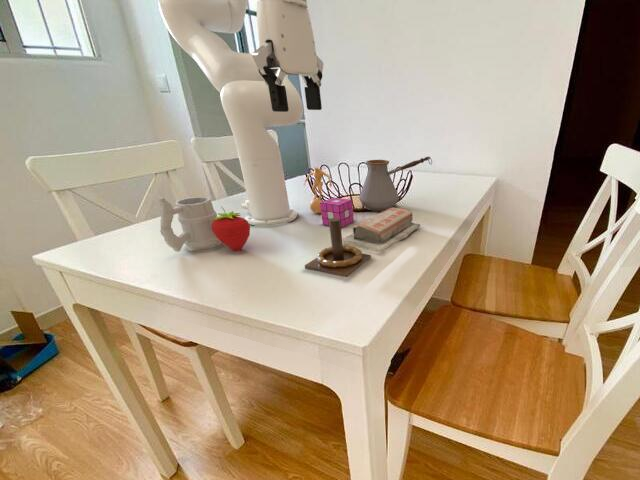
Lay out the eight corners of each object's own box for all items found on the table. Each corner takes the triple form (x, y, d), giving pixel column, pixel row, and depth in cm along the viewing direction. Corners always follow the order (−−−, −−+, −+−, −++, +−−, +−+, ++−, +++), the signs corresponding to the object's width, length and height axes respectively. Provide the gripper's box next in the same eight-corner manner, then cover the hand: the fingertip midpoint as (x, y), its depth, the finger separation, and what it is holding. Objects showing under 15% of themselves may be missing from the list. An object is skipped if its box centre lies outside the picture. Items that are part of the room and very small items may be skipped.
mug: (234, 241, 76) (219, 187, 70) (185, 263, 67) (164, 202, 61) (208, 237, 79) (193, 184, 73) (158, 256, 69) (136, 197, 63)
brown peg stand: (305, 271, 64) (297, 223, 59) (332, 253, 71) (328, 209, 67) (346, 280, 61) (341, 230, 56) (371, 260, 68) (368, 215, 63)
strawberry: (244, 259, 68) (232, 210, 63) (211, 256, 69) (197, 208, 65) (261, 248, 73) (251, 202, 68) (230, 245, 74) (218, 200, 70)
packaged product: (385, 203, 86) (420, 209, 82) (385, 222, 88) (420, 228, 84) (340, 224, 72) (380, 232, 68) (342, 245, 74) (381, 254, 70)
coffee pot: (352, 210, 97) (348, 155, 90) (370, 200, 107) (368, 149, 100) (423, 219, 91) (424, 160, 83) (436, 207, 100) (438, 153, 93)
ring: (308, 264, 64) (307, 258, 63) (333, 247, 70) (333, 242, 70) (347, 271, 61) (346, 265, 60) (369, 254, 68) (369, 248, 67)
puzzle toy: (336, 218, 91) (333, 197, 88) (354, 221, 89) (352, 199, 86) (322, 224, 86) (319, 202, 84) (341, 228, 84) (338, 205, 82)
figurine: (301, 214, 94) (294, 169, 89) (312, 208, 99) (306, 165, 94) (328, 216, 92) (323, 170, 87) (338, 210, 97) (334, 166, 92)
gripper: (298, 8, 65) (310, 109, 73) (222, -17, 51) (248, 112, 59) (332, 4, 62) (340, 109, 70) (261, -22, 48) (282, 112, 56)
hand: (298, 110), depth 65 cm, fingers open, 9 cm apart
